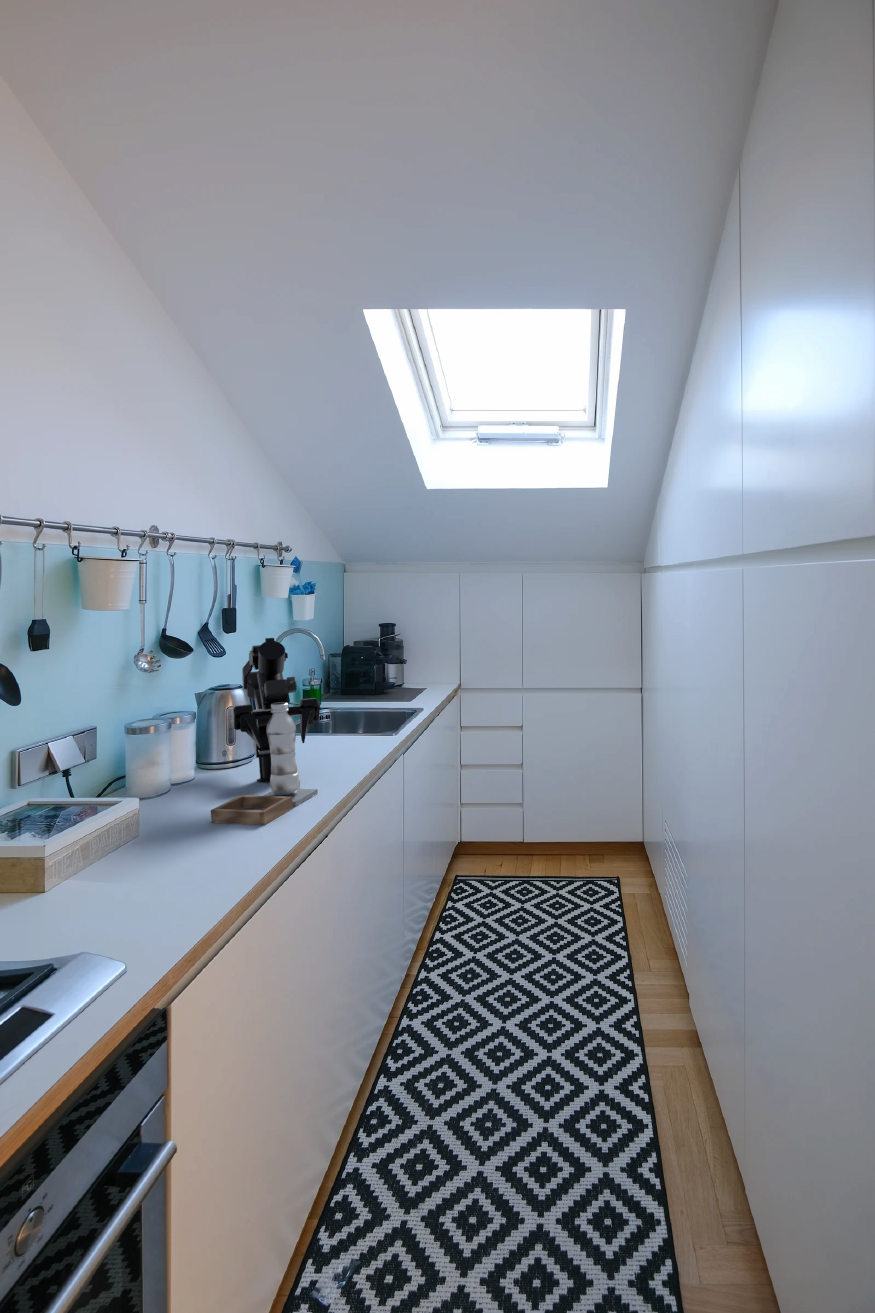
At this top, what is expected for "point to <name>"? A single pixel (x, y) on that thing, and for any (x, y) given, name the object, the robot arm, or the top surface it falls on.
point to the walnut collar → (235, 815)
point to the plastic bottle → (282, 751)
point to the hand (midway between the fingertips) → (282, 744)
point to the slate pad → (298, 795)
